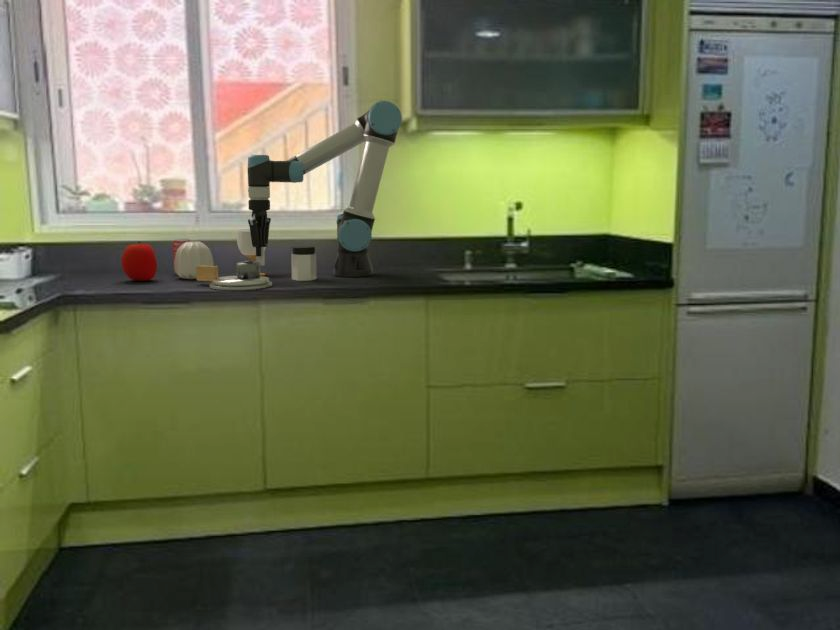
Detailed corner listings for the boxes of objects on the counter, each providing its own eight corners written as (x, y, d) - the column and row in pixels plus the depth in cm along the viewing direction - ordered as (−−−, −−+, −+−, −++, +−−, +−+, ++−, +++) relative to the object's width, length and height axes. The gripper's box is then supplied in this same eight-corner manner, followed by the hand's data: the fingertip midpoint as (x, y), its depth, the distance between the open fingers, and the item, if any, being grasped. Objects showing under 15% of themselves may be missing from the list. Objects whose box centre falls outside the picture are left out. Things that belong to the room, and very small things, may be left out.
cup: (251, 272, 321) (249, 228, 318) (275, 274, 315) (273, 229, 312) (231, 275, 311) (229, 230, 308) (255, 277, 305) (253, 231, 302)
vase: (202, 281, 295) (201, 243, 293) (167, 279, 298) (166, 243, 296) (220, 276, 308) (219, 240, 306) (186, 275, 312) (185, 239, 309)
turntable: (278, 280, 288) (278, 265, 288) (252, 287, 271) (251, 271, 270) (213, 277, 296) (212, 262, 295) (183, 284, 278) (182, 268, 277)
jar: (320, 279, 300) (319, 246, 297) (301, 281, 294) (300, 248, 292) (307, 277, 306) (306, 245, 304) (288, 279, 301) (287, 246, 299)
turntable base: (282, 283, 289) (282, 280, 289) (253, 291, 270) (253, 288, 269) (229, 281, 295) (229, 278, 295) (197, 289, 276) (197, 286, 275)
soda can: (194, 274, 314) (193, 240, 312) (175, 275, 312) (173, 240, 309) (192, 272, 321) (190, 238, 318) (173, 273, 318) (171, 239, 316)
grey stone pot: (264, 276, 290) (263, 260, 289) (253, 279, 282) (252, 262, 281) (244, 275, 292) (243, 259, 291) (232, 278, 285) (232, 261, 284)
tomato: (164, 279, 299) (162, 240, 297) (146, 283, 288) (144, 243, 286) (134, 278, 302) (132, 239, 300) (115, 282, 292) (113, 242, 289)
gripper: (258, 198, 299) (259, 262, 303) (240, 199, 286) (242, 266, 291) (277, 198, 297) (278, 263, 301) (259, 199, 284) (261, 267, 288)
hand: (260, 265), depth 296 cm, fingers closed
